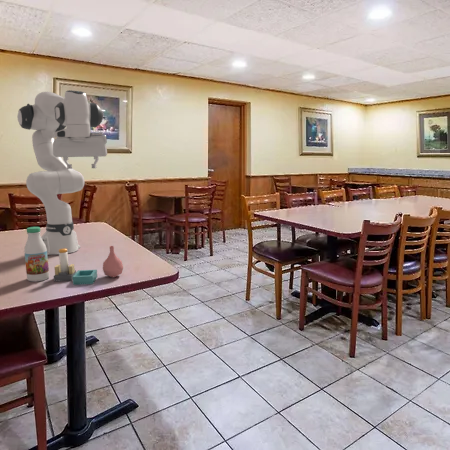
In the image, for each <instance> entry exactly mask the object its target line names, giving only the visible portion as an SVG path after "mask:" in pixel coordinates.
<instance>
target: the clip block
mask: <svg viewBox="0 0 450 450" xmlns="http://www.w3.org/2000/svg"><path fill="white" fill-rule="evenodd" d="M75 269H76V268H75V264H73V263H72V264H70V265H69V273H68V274H67V272H61V270H60V264H56V265H55V266H54V275H53V281H54V282H66V281H67V282H69V281H71V282H73V276H74V275H75V273H76V272H77V270H75Z"/></svg>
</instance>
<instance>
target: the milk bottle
mask: <svg viewBox="0 0 450 450" xmlns="http://www.w3.org/2000/svg"><path fill="white" fill-rule="evenodd" d="M26 234H27V240H26V243H25V244H24V245H25V246H24V251H23V252H24V260H25V261H24V263H25V273H26V280H27V281H28V282H42V281H46V280H47V279H49V278H50V268H49V259H48V255H47V249H46V245H45V243H44V242H43V240H42V238H41V237H42V235H41V227H40V226H30V227H27V228H26Z"/></svg>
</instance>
